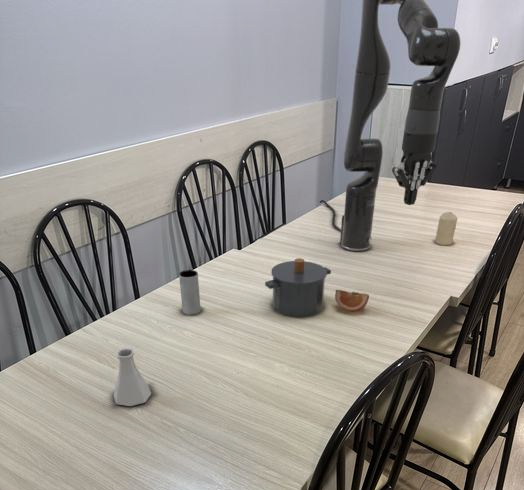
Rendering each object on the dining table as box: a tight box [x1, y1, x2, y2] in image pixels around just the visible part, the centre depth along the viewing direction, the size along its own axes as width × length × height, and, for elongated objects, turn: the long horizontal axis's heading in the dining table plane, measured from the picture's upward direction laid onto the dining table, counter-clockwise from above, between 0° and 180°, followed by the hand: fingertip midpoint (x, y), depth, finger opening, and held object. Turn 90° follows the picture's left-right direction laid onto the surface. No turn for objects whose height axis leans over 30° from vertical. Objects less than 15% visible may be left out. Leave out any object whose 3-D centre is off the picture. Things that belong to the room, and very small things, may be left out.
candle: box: [435, 211, 458, 246], centre depth 167 cm, size 6×6×10 cm
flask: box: [113, 347, 152, 407], centre depth 95 cm, size 7×7×10 cm
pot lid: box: [270, 257, 328, 285], centre depth 125 cm, size 14×14×4 cm
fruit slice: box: [334, 289, 370, 313], centre depth 128 cm, size 8×7×5 cm
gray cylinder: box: [178, 269, 201, 316], centre depth 125 cm, size 4×4×10 cm
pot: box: [264, 266, 332, 318], centre depth 128 cm, size 13×18×9 cm
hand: (409, 203), depth 126 cm, fingers closed
